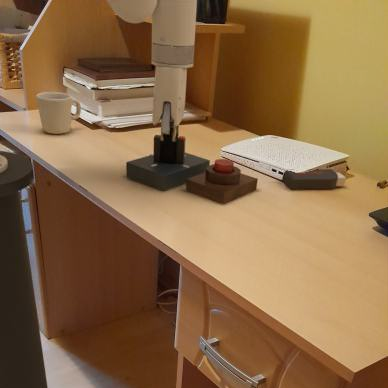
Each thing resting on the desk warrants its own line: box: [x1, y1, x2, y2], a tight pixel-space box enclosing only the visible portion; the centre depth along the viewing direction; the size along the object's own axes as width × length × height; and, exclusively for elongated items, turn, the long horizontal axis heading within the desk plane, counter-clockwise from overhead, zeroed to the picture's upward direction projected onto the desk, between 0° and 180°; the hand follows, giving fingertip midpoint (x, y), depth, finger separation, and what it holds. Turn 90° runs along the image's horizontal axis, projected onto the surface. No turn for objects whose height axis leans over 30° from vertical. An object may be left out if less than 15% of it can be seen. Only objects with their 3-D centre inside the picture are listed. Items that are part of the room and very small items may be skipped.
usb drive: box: [281, 168, 347, 191], centre depth 105 cm, size 5×12×3 cm, turn 102°
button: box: [214, 158, 235, 173], centre depth 98 cm, size 4×4×2 cm
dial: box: [153, 134, 187, 164], centre depth 102 cm, size 6×2×5 cm, turn 84°
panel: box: [125, 152, 211, 192], centre depth 104 cm, size 14×10×3 cm
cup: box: [35, 91, 82, 135], centre depth 123 cm, size 11×8×8 cm
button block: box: [185, 163, 259, 205], centre depth 99 cm, size 11×9×4 cm
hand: (169, 159), depth 103 cm, fingers closed on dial, 2 cm apart
